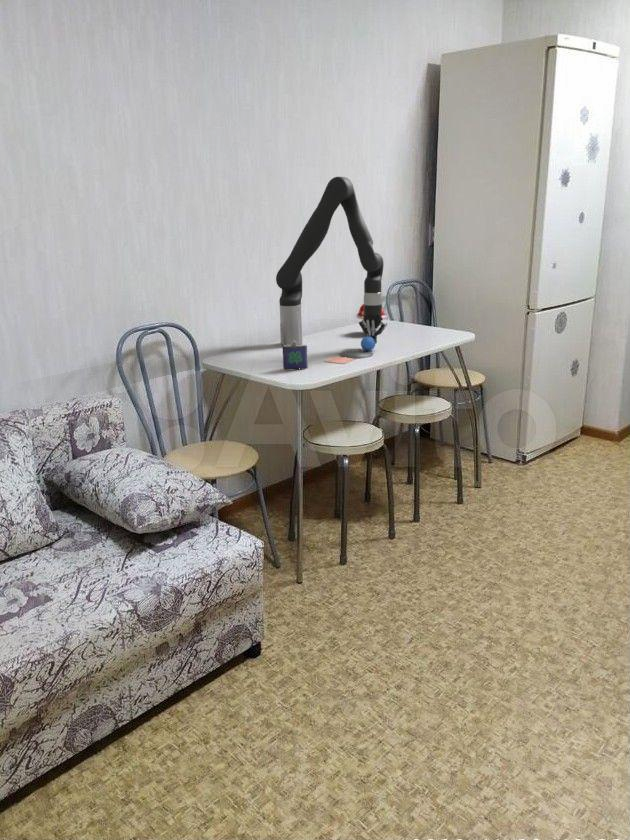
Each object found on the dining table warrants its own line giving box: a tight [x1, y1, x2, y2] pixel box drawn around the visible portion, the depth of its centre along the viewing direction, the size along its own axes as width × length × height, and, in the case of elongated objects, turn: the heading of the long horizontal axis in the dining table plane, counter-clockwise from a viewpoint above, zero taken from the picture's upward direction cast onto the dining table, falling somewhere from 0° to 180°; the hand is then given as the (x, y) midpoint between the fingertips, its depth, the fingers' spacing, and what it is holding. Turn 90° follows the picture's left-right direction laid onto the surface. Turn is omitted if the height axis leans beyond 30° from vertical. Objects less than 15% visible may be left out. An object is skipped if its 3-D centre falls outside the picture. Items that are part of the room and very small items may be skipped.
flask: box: [282, 341, 309, 370], centre depth 266 cm, size 9×3×11 cm, turn 95°
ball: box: [360, 335, 376, 352], centre depth 292 cm, size 6×6×6 cm
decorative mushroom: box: [355, 303, 387, 336], centre depth 324 cm, size 14×14×15 cm
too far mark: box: [324, 356, 356, 365], centre depth 278 cm, size 9×9×1 cm
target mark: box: [338, 349, 374, 359], centre depth 288 cm, size 14×14×1 cm
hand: (372, 344), depth 297 cm, fingers closed
